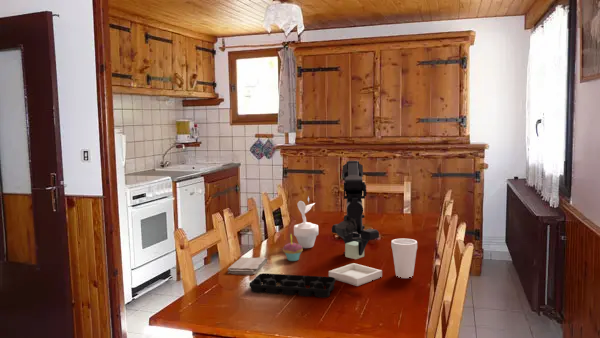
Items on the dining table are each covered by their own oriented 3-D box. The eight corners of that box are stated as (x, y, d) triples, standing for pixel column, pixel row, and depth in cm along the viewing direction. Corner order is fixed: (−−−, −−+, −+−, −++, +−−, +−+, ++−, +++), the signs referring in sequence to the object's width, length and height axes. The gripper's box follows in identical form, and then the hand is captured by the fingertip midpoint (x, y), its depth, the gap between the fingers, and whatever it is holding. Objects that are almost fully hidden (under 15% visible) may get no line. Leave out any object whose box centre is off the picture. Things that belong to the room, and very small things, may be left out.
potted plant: (305, 251, 225) (304, 196, 222) (289, 246, 233) (287, 193, 231) (325, 246, 233) (324, 192, 230) (309, 241, 242) (307, 190, 239)
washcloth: (226, 275, 194) (226, 267, 194) (240, 262, 212) (240, 255, 212) (256, 276, 192) (255, 268, 192) (267, 262, 210) (267, 255, 209)
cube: (354, 254, 189) (354, 241, 189) (364, 256, 186) (364, 243, 185) (345, 256, 186) (345, 243, 185) (355, 259, 182) (355, 245, 182)
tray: (353, 269, 196) (353, 263, 196) (382, 276, 186) (382, 270, 186) (328, 277, 187) (328, 271, 187) (357, 286, 177) (357, 279, 176)
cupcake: (300, 262, 207) (299, 234, 206) (280, 262, 209) (279, 233, 208) (304, 257, 215) (303, 229, 214) (285, 256, 217) (284, 229, 216)
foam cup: (418, 272, 190) (418, 239, 189) (416, 280, 181) (415, 245, 180) (393, 270, 193) (393, 237, 192) (389, 278, 184) (389, 243, 183)
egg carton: (336, 299, 166) (336, 288, 165) (246, 300, 167) (246, 289, 167) (335, 282, 183) (335, 272, 183) (254, 282, 185) (253, 272, 184)
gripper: (321, 212, 185) (321, 253, 187) (359, 219, 172) (360, 263, 173) (341, 208, 193) (342, 247, 195) (379, 214, 179) (380, 257, 181)
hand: (355, 253), depth 186 cm, fingers closed on cube, 5 cm apart
